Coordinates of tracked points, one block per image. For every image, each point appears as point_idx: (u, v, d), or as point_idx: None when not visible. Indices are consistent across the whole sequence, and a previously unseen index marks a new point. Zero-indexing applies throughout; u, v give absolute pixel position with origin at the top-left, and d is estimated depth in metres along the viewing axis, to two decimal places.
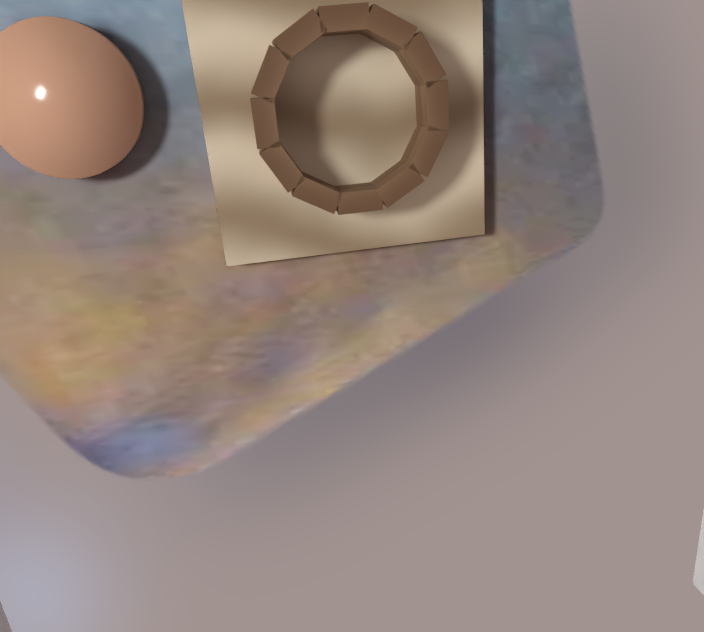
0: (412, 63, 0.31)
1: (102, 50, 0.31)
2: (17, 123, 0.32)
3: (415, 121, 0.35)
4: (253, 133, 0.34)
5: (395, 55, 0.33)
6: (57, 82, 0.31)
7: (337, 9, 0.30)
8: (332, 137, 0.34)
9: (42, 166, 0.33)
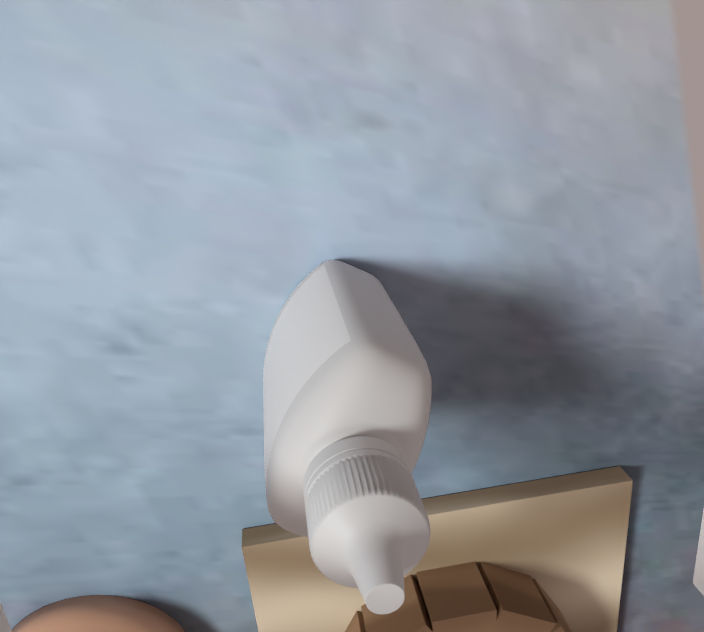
0: None
1: None
2: None
3: None
4: None
5: None
6: None
7: (456, 621, 0.23)
8: None
9: None
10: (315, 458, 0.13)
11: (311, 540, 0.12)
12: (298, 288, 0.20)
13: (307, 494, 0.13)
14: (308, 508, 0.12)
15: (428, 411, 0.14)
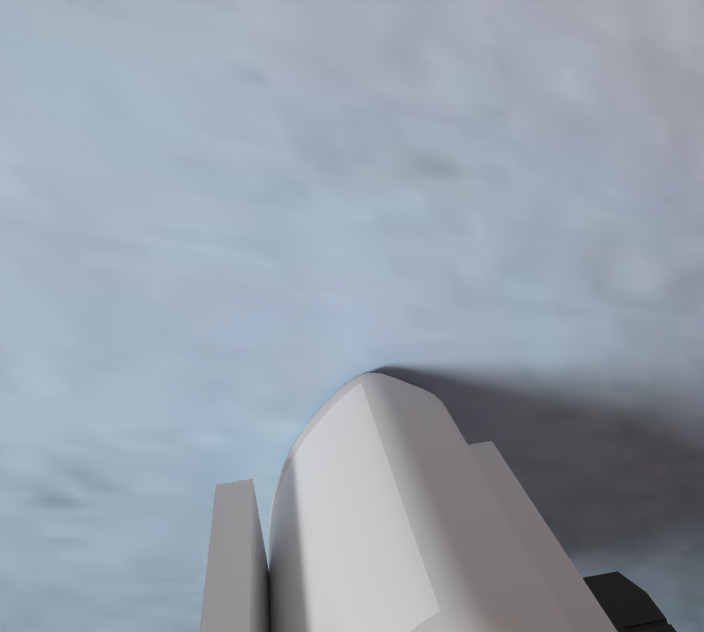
0: None
1: None
2: None
3: None
4: None
5: None
6: None
7: None
8: None
9: None
10: None
11: None
12: (321, 416, 0.13)
13: None
14: None
15: None
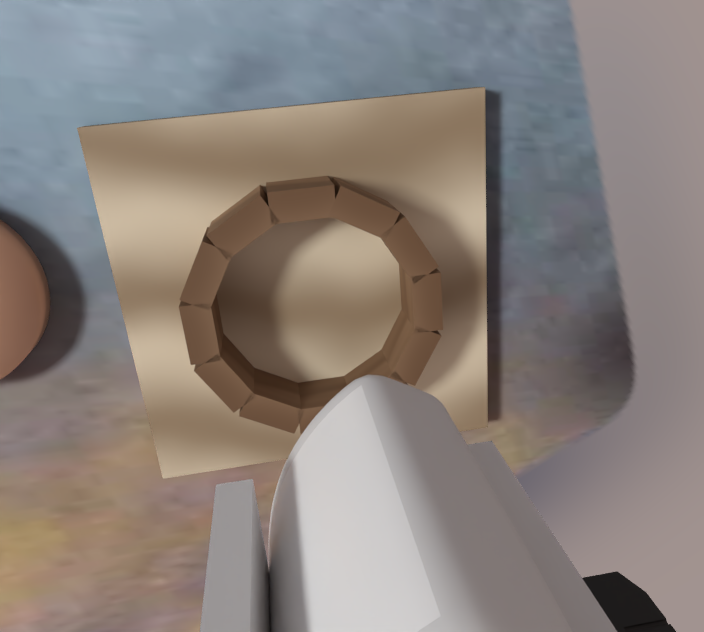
0: (394, 254, 0.24)
1: None
2: None
3: (400, 304, 0.27)
4: None
5: None
6: None
7: (292, 195, 0.22)
8: (293, 327, 0.27)
9: None
10: None
11: None
12: (322, 419, 0.13)
13: None
14: None
15: None
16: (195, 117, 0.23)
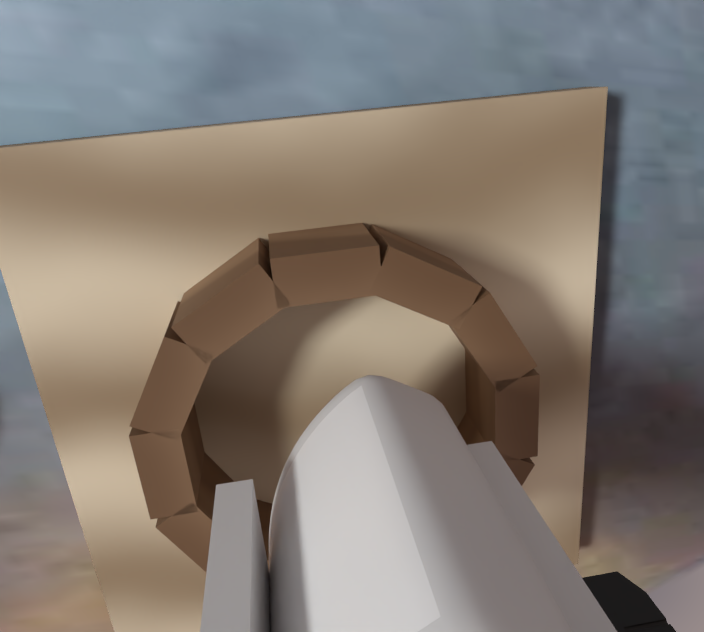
0: (469, 349, 0.15)
1: None
2: None
3: (464, 406, 0.19)
4: None
5: None
6: None
7: (311, 262, 0.14)
8: None
9: None
10: None
11: None
12: (322, 419, 0.13)
13: None
14: None
15: None
16: (155, 134, 0.15)
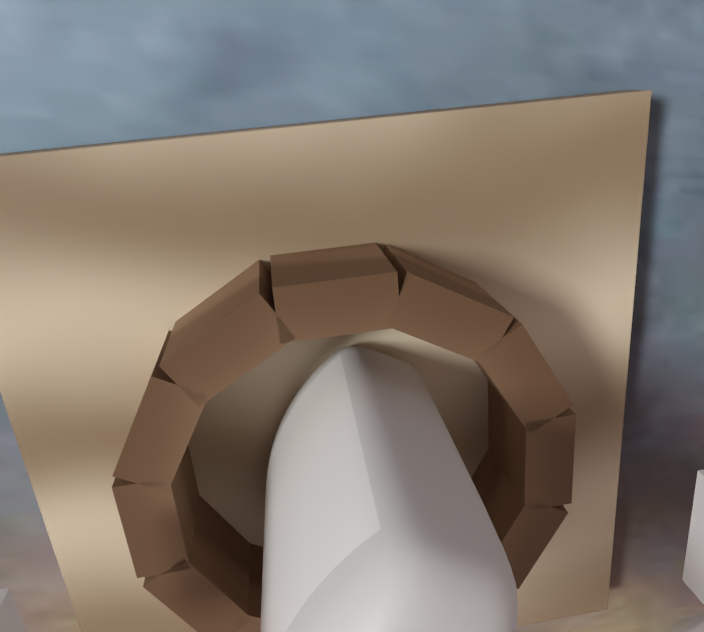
0: (497, 386, 0.13)
1: None
2: None
3: (486, 442, 0.17)
4: None
5: None
6: None
7: (320, 292, 0.12)
8: None
9: None
10: None
11: None
12: (306, 387, 0.15)
13: None
14: None
15: None
16: (142, 144, 0.13)
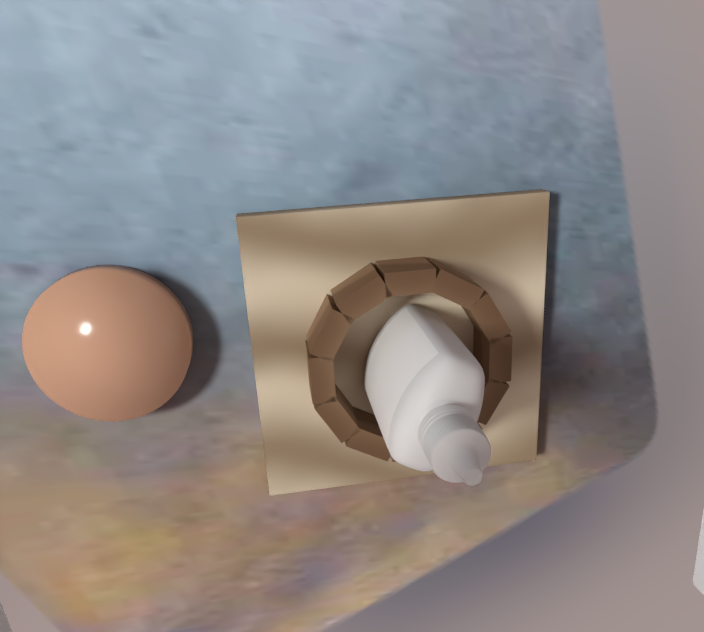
0: (477, 321, 0.30)
1: (119, 283, 0.29)
2: (82, 388, 0.31)
3: None
4: (305, 372, 0.33)
5: None
6: (96, 334, 0.30)
7: (404, 275, 0.29)
8: None
9: (123, 413, 0.31)
10: (425, 417, 0.24)
11: (430, 454, 0.23)
12: (389, 323, 0.32)
13: (423, 435, 0.24)
14: (425, 441, 0.24)
15: (483, 392, 0.26)
16: (326, 211, 0.30)
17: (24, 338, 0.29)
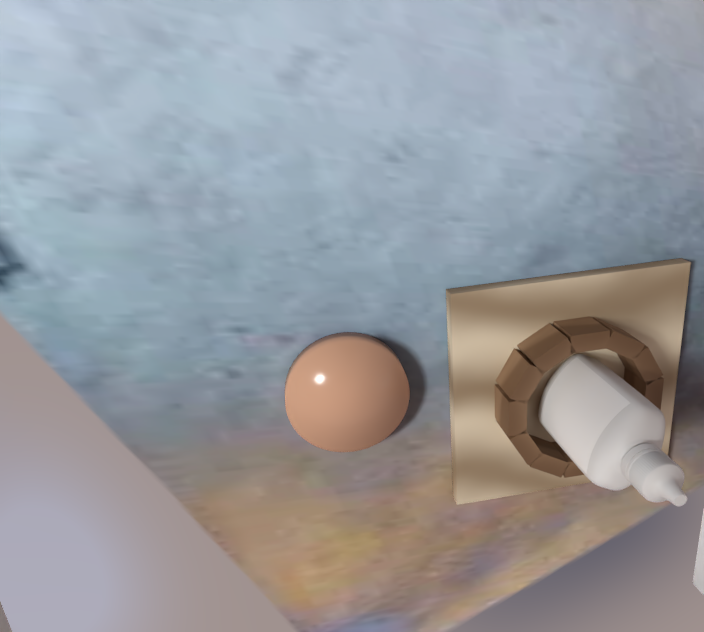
0: (637, 368, 0.39)
1: (355, 349, 0.37)
2: (329, 430, 0.39)
3: None
4: (492, 408, 0.41)
5: None
6: (339, 389, 0.38)
7: (585, 337, 0.37)
8: None
9: (360, 445, 0.40)
10: (628, 453, 0.33)
11: (641, 483, 0.31)
12: (562, 369, 0.40)
13: (629, 467, 0.32)
14: (633, 472, 0.32)
15: (664, 431, 0.34)
16: (519, 285, 0.38)
17: (286, 400, 0.38)
